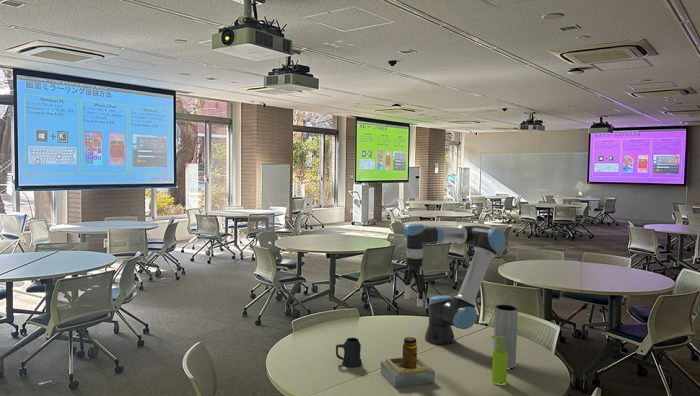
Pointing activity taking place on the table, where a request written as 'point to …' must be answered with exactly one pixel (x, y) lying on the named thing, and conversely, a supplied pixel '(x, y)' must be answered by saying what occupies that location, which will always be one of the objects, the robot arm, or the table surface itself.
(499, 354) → the soap dispenser
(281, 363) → the table surface
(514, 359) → the vase
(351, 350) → the mug
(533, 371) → the table surface
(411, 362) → the condiment
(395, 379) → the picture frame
